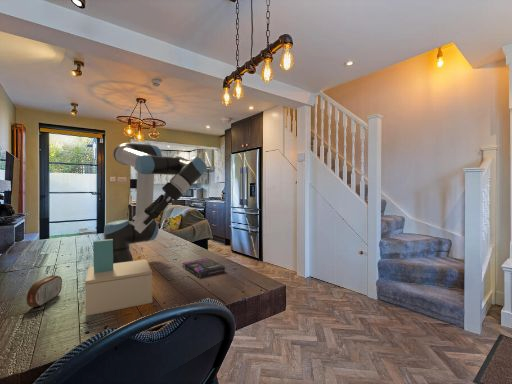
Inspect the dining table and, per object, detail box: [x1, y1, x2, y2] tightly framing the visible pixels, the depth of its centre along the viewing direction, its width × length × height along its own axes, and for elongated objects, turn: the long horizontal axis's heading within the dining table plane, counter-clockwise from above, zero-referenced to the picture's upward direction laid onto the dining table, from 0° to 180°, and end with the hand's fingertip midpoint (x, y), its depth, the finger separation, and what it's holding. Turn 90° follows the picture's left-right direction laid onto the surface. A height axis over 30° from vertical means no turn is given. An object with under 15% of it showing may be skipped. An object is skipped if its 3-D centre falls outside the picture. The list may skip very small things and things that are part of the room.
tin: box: [26, 274, 63, 308], centre depth 96 cm, size 15×3×8 cm, turn 5°
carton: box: [84, 273, 153, 317], centre depth 98 cm, size 20×18×10 cm
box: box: [182, 257, 226, 279], centre depth 132 cm, size 14×4×20 cm
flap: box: [84, 239, 153, 285], centre depth 98 cm, size 20×18×12 cm
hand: (135, 228), depth 100 cm, fingers open, 13 cm apart
